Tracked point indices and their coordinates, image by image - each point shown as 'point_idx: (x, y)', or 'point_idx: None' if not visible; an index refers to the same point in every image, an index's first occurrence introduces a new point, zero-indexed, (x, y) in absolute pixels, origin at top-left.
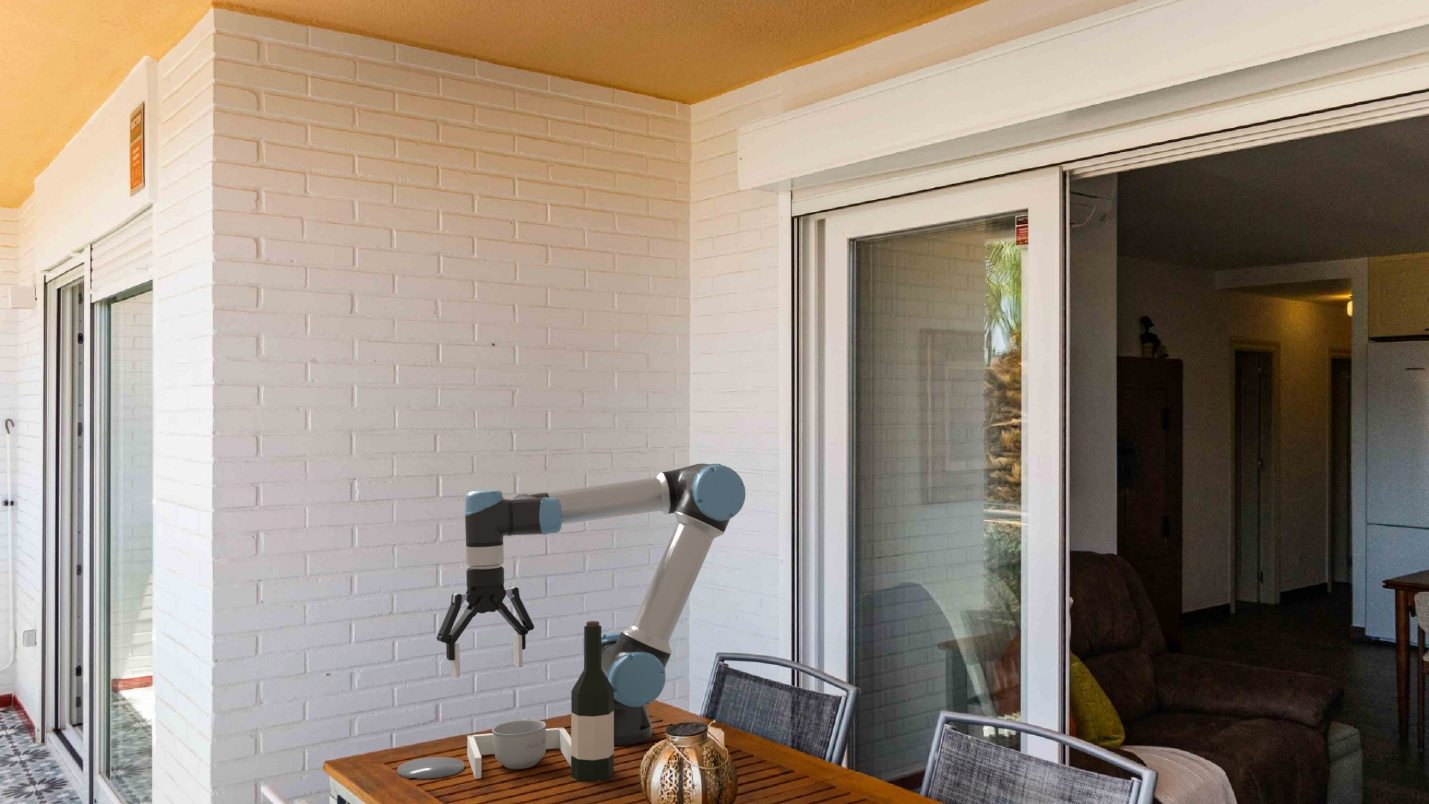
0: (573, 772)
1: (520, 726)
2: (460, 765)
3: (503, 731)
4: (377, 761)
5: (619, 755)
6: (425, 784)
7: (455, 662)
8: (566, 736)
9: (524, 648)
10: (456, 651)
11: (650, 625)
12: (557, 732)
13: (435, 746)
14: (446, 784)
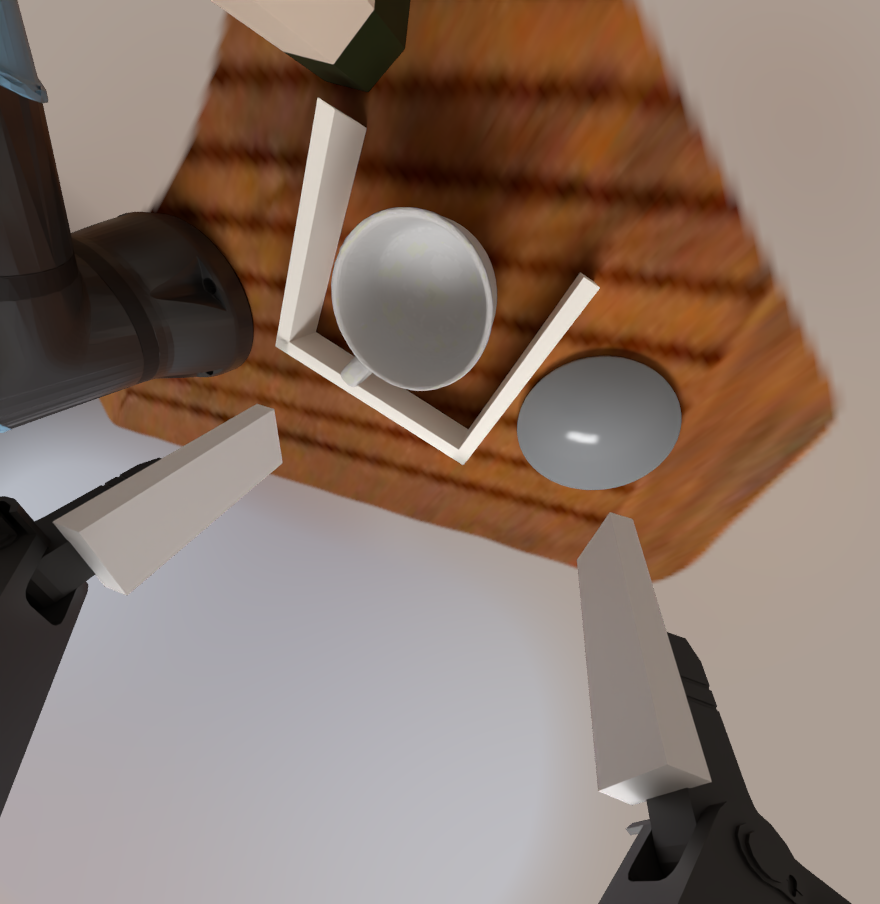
0: (400, 11)
1: (379, 361)
2: (548, 385)
3: (425, 376)
4: None
5: (222, 156)
6: (704, 347)
7: (650, 604)
8: (297, 270)
9: (155, 461)
10: (678, 690)
11: None
12: (297, 342)
13: (477, 518)
14: (676, 301)
